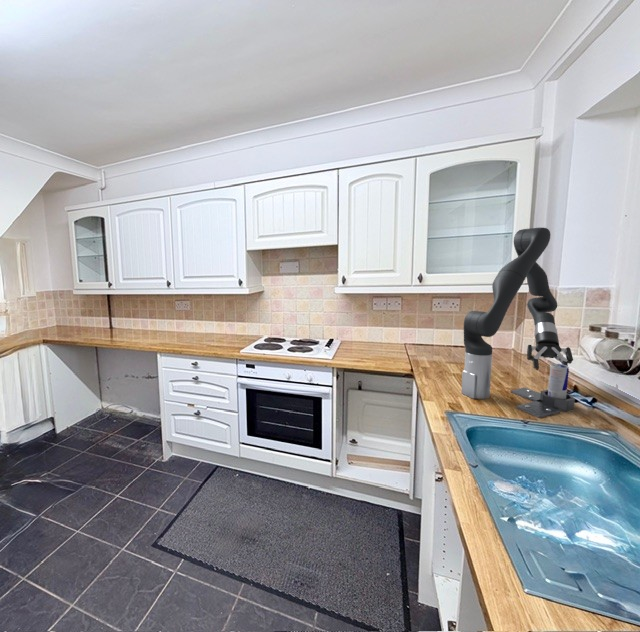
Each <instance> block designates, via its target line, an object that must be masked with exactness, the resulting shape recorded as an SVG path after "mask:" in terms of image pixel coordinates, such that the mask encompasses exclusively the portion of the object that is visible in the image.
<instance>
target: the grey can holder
mask: <svg viewBox="0 0 640 632" xmlns="http://www.w3.org/2000/svg"><path fill="white" fill-rule="evenodd" d="M510 393H511V394H513V395H517V396H518V397H521V398H524V399H526V400H529V401H531V402H527V403H523V404H517V405H516V406H515V408H516V409H518V410H520V411H523V412H525V413H527V414H530V415H532V416H534V417H536V418H538V419H540V418H545V417H549V416H553V415H556V414H557V415H558V414H560V413H561V412H565V413H568V412H572V411H575V405H576V403H575V402H576V398H575V397H574V396H573V395H572V394H570V393H567V394H566V400H565V399H557V398H553V397H550V396H548V389H545V390H541V391H540V392H538V391H535V390H533V389H530V388H527V387H521V388H516V389H511V390H510Z"/></svg>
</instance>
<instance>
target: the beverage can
mask: <svg viewBox="0 0 640 632" xmlns="http://www.w3.org/2000/svg"><path fill="white" fill-rule="evenodd" d="M549 367H550V368H549V377H548V378H549V379H548V388H547V390H548V396H550V397H553V398H557V399H565V400H566V394H568V393H567V392H568V383H569V382H568V381H569V373H570V369H569V368H570V366H569V365H568V366H566V365H562V363H551V364H550V366H549Z"/></svg>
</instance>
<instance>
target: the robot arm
mask: <svg viewBox="0 0 640 632" xmlns="http://www.w3.org/2000/svg"><path fill="white" fill-rule="evenodd" d="M550 240H551V230H550V229H548V228H547V227H532V228H523V229H519V230H518V231H516V233H515V235H514V236H513V247H514V250H515V252H516V254H517V257H515V258H514V259H512V260H511V261H510V262H508V263H507V264H505V265H504V266H503V267H502V268H501V269H500V270H499V272H498V273H497V275H496V276H495V277H494V280H493V282H492V287H491V288H492V294H493V304H492V305H491V307H490V309H489V310H488V311H479V310H471V311H469V312H467V313H466V314H465V317H464V320H463V345H464V348H465V351H464V352H465V353H464V369H463V370H462V372H461V374H462V375H461V376H462V377H461V394H463V395H464V396H466V397H469V398H470V399H473V400H476V399H478V400H486V399H488V398H490V397H491V396H490V395H491V379H492V377H491V376H492V363H493V347H492V345H491V344H489V343H488V342H486V340H484V338H491V337H493V336H495V334H497V332H498V331H499V329H500V327H501V326H502V323H503V321H504V318H505V316H506V314H507V312H508V309H509V307H510V306H511V304H512V301H513V300H514V298H515V297H516V295H517V293H518V292H519V290H520V288H521V287H522V285H523V283H524V282H525V280H526V282H527V286H528V291H529V294H530V295H531V296H533V297H532V298H530V299H528V301H527V303H526V307H527V309H528V311H529V312H530V314H531V316H532V318H533V325H534V337H535V346H534V345H533V346H532V345H531V344H528V345H527V348H526V359H527V361H532V365H533V368H534V369H535V370H536V371H539V369H540V365H539V359H541V357H543V358H544V359H545V358H547V359H548V358H549V359H555V360H556V361H558V362H559V363H560V364H562V365H566V366H568V367H569V365H570V364H572V363H573V361H574V357H573V354H572V350H571V348H570V347H569V346H568V347H566V348H565V347H564V348H562V347H561V346H560V342H559V341H560V340H559V336H558V329H557V327H556V321H555V320H556V319H555V317H554V315H553V314H552V313H551V312H554V311H556V310H557V308H558V302H557V299H556V298H555V296H554V295H553V293H552V292H551V289H550V285H549V284H550V283H549V278H548V275H547V273H546V271H545V270H544V269H543V268H542V266H541V265H539V264H538V262H537V261H538V260H539V258H540V257H541V256H542V255H543V252H545V250H546V248H547V247H548V245H549V243H550ZM534 296H535V297H534ZM483 337H484V338H483ZM534 351H535V352H537V353H536V354H535V355H534V356H533V352H534ZM562 353H563V354H562ZM564 355H565V356H564ZM568 364H569V365H568Z"/></svg>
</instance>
